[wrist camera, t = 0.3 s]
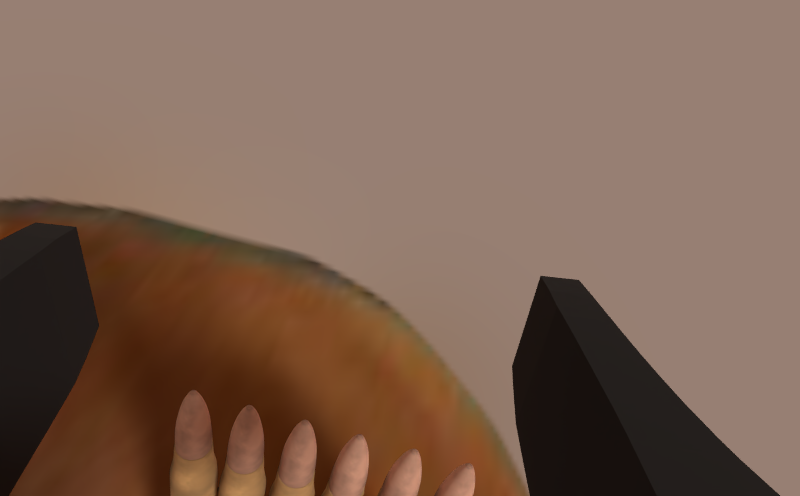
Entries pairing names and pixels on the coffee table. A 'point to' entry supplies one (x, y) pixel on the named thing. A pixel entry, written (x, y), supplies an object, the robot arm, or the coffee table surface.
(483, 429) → the coffee table surface
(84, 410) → the coffee table surface
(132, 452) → the coffee table surface
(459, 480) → the ammunition clip
